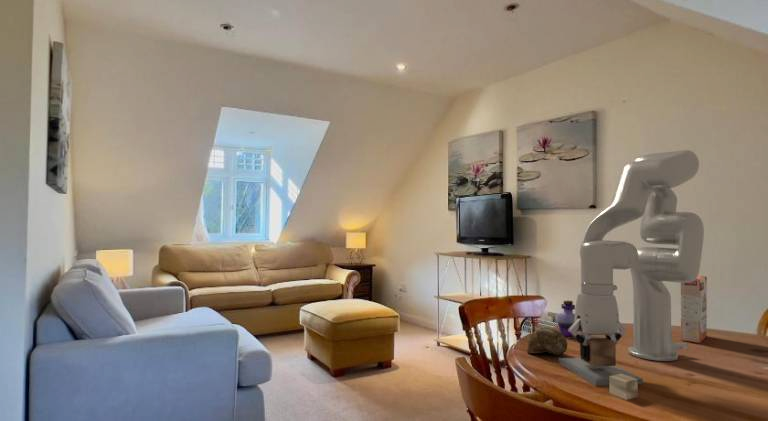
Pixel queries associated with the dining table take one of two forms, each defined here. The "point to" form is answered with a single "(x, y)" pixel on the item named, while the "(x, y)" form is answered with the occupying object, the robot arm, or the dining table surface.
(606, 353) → the walnut cube
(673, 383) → the dining table surface
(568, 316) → the potion bottle
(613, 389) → the beech block
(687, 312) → the cracker box
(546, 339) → the grey-brown rock
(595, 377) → the plate
